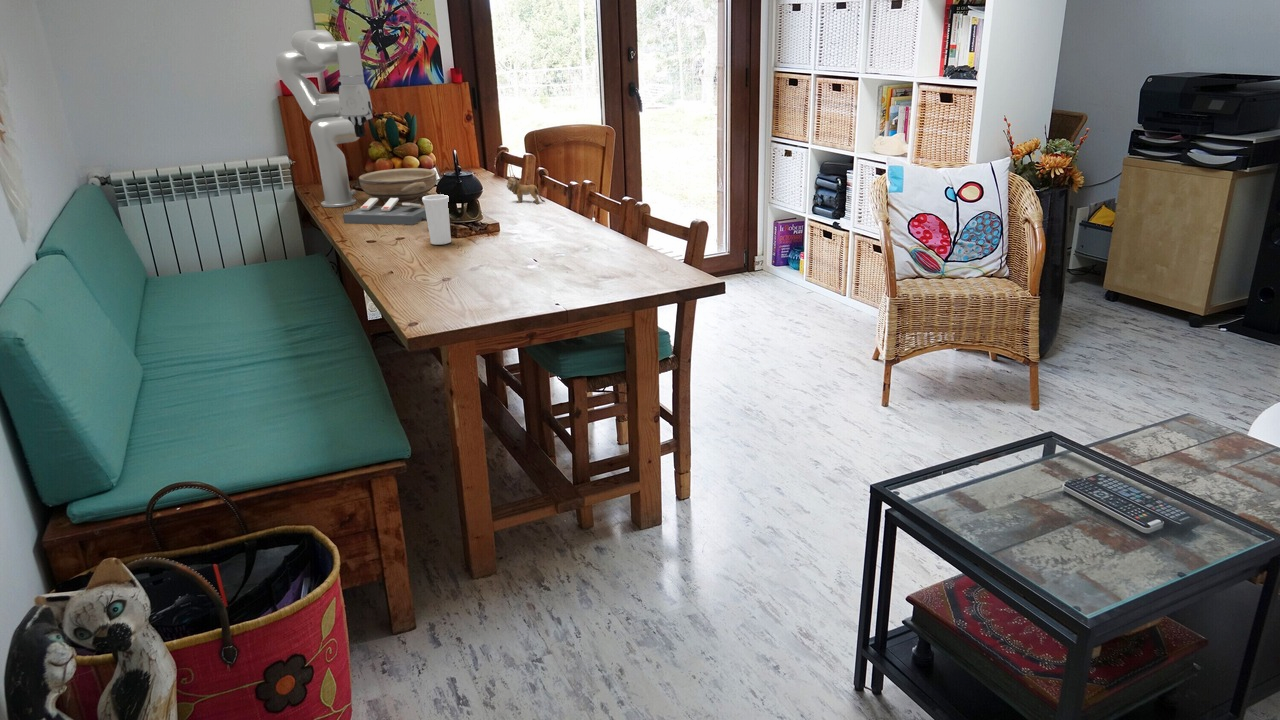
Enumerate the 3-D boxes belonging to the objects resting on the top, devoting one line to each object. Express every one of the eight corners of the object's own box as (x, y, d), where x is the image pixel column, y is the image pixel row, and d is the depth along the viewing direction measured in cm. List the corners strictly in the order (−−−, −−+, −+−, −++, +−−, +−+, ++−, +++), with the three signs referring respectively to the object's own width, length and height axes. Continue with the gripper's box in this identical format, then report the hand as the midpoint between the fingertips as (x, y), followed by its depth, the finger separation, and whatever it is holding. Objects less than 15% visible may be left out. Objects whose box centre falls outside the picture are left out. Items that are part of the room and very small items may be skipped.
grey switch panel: (365, 214, 309) (364, 205, 308) (447, 216, 302) (446, 207, 301) (344, 223, 297) (342, 214, 296) (429, 225, 289) (428, 216, 288)
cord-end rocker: (413, 206, 303) (413, 203, 303) (420, 206, 302) (420, 203, 302) (402, 205, 295) (402, 202, 295) (410, 205, 295) (410, 202, 295)
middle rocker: (391, 199, 304) (390, 197, 303) (398, 200, 303) (398, 197, 302) (381, 211, 298) (380, 208, 297) (389, 211, 297) (388, 208, 297)
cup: (448, 246, 261) (442, 199, 256) (423, 246, 263) (417, 199, 258) (458, 240, 269) (453, 194, 263) (434, 239, 270) (428, 194, 265)
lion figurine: (505, 203, 320) (503, 179, 316) (511, 200, 324) (509, 176, 321) (542, 204, 316) (541, 179, 312) (548, 201, 320) (546, 177, 317)
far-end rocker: (370, 200, 306) (370, 197, 305) (378, 200, 305) (377, 197, 304) (360, 209, 300) (359, 207, 299) (368, 210, 299) (367, 207, 298)
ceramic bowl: (346, 199, 336) (342, 173, 332) (415, 189, 352) (412, 164, 349) (384, 214, 309) (380, 185, 305) (457, 202, 325) (454, 175, 321)
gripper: (326, 82, 291) (335, 138, 298) (366, 81, 288) (374, 138, 294) (339, 80, 298) (347, 135, 305) (378, 79, 294) (385, 135, 301)
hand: (360, 136), depth 300 cm, fingers closed
